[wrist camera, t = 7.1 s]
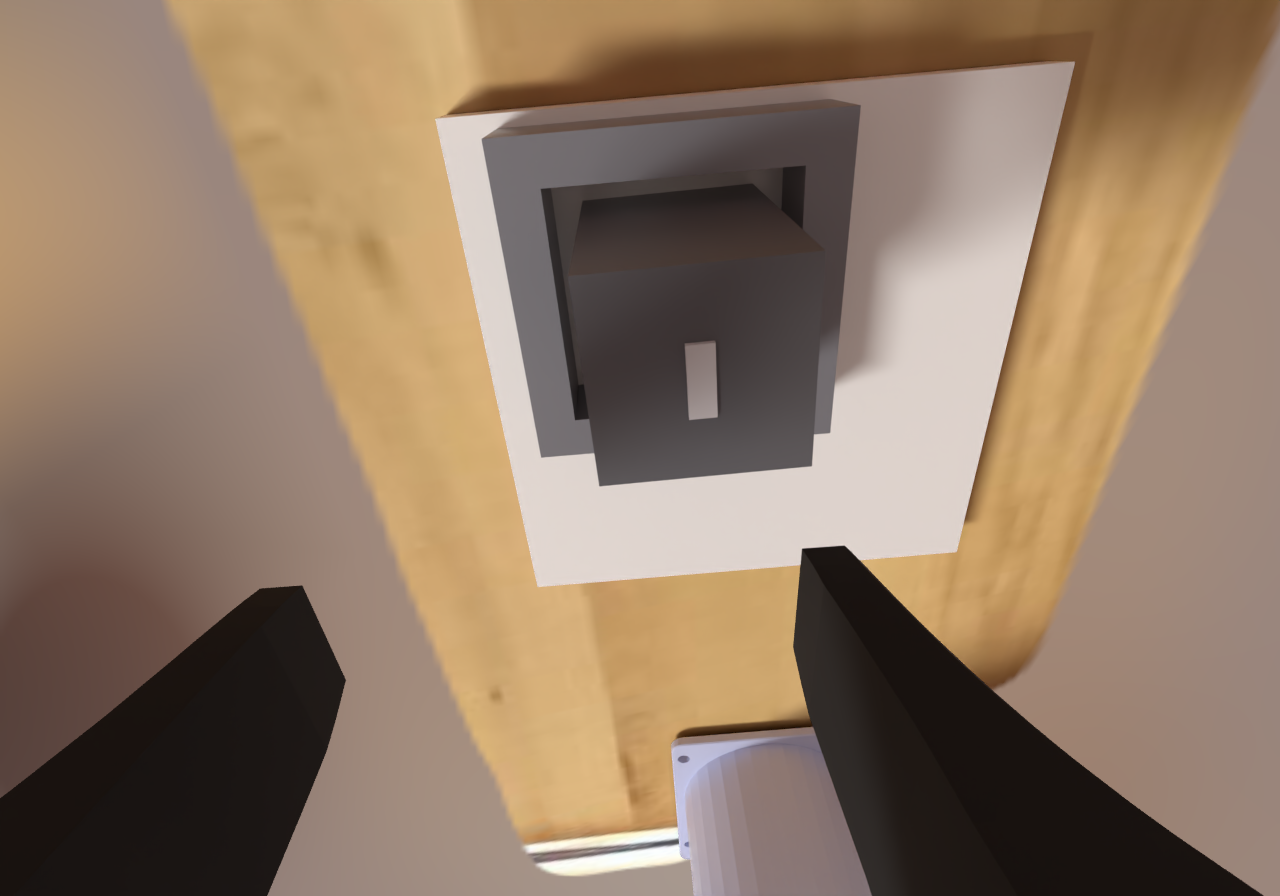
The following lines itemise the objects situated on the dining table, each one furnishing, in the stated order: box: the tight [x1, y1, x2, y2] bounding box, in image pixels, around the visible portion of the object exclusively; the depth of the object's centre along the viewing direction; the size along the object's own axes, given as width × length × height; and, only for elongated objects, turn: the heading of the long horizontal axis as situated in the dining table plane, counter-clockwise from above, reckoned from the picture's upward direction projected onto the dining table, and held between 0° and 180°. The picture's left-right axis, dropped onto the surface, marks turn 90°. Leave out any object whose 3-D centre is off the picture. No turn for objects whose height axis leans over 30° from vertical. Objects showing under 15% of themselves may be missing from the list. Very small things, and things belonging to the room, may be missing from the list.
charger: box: [568, 183, 826, 486], centre depth 13 cm, size 4×4×6 cm
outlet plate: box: [435, 61, 1075, 587], centre depth 17 cm, size 14×14×3 cm
